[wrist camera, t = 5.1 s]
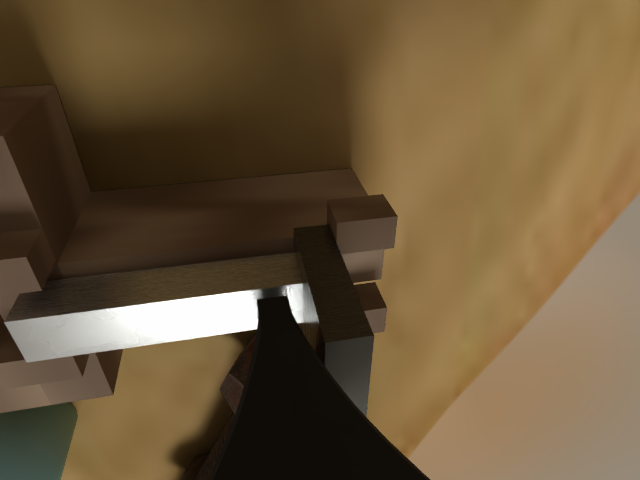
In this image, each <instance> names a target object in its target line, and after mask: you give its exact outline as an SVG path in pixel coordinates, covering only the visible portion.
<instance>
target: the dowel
mask: <svg viewBox="0 0 640 480" xmlns="http://www.w3.org/2000/svg"><path fill="white" fill-rule="evenodd" d="M76 421H77V412H76V409H75V408H74V406H73V405H72V404H71V403H69V402H67V403H61V404H54V405H48V406H42V407H36V408H29V409H23V410H17V411H11V412H4V413H0V480H61V476H62V472H63V469H64V465H65V462H66V458H67V454H68V451H69V447H70V443H71V440H72V436H73V432H74V429H75V425H76Z"/></svg>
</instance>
